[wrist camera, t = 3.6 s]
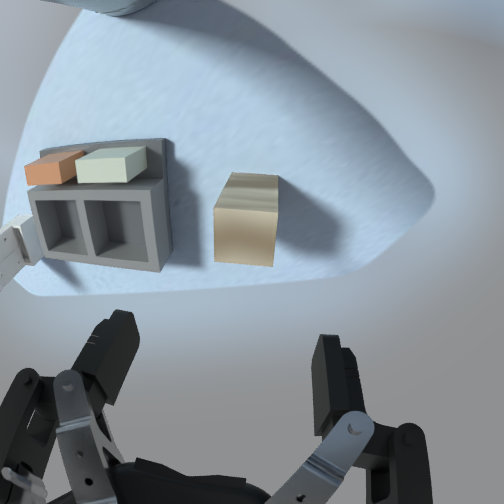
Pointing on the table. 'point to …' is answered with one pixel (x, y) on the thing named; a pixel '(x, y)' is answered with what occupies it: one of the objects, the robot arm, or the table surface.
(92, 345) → the robot arm
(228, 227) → the tan rectangular block
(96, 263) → the socket block
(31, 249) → the white angled block
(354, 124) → the table surface
